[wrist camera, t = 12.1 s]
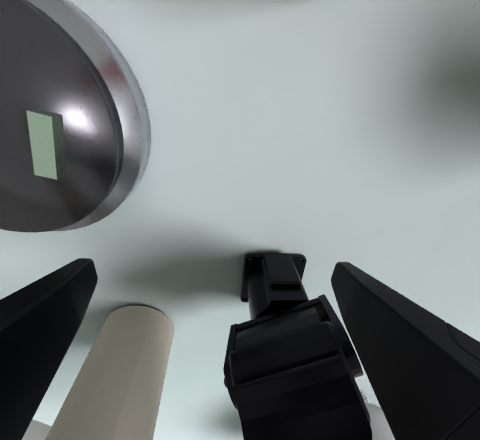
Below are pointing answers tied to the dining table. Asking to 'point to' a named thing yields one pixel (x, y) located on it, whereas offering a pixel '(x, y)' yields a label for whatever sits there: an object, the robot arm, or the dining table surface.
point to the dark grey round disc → (123, 94)
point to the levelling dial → (52, 125)
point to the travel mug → (119, 380)
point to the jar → (379, 423)
